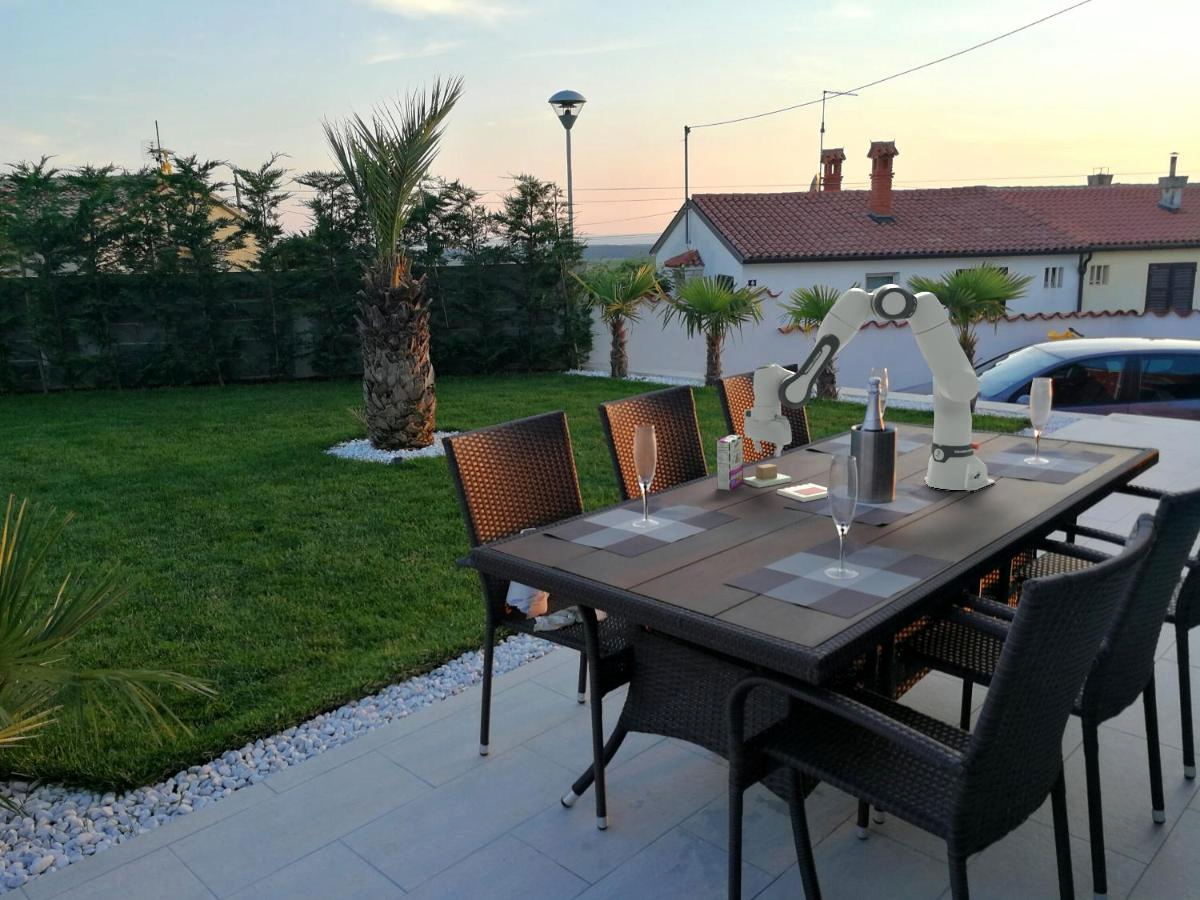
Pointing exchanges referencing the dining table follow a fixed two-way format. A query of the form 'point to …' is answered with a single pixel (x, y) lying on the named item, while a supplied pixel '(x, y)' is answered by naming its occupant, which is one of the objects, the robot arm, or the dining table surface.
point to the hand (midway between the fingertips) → (767, 454)
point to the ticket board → (804, 492)
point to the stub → (766, 476)
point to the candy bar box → (730, 462)
